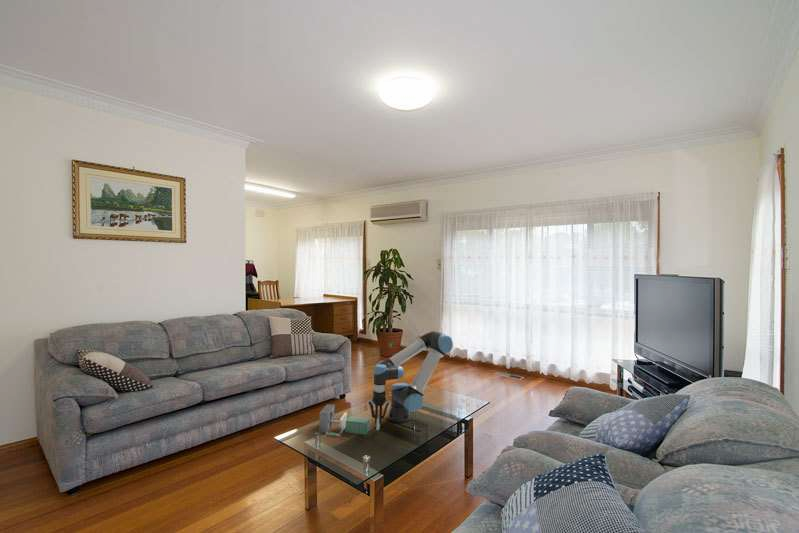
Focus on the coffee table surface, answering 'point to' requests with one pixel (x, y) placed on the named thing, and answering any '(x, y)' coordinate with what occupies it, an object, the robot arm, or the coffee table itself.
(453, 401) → the coffee table surface
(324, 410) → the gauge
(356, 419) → the box
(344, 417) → the plunger
